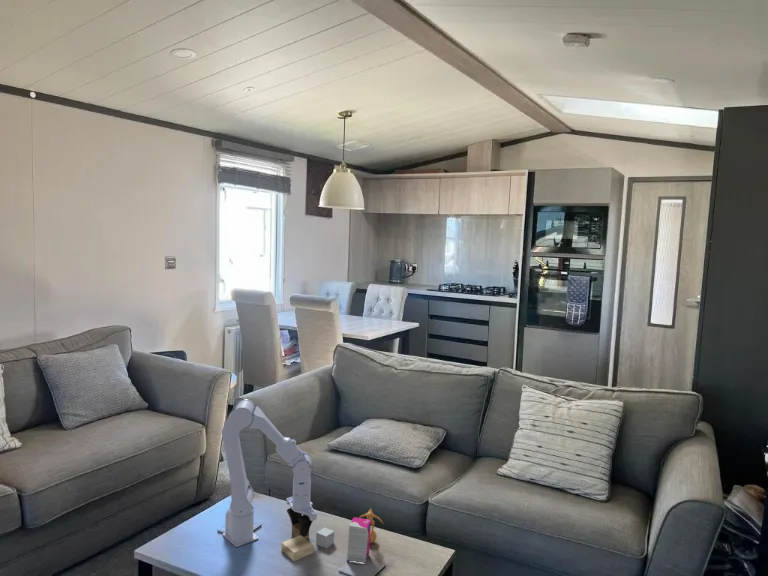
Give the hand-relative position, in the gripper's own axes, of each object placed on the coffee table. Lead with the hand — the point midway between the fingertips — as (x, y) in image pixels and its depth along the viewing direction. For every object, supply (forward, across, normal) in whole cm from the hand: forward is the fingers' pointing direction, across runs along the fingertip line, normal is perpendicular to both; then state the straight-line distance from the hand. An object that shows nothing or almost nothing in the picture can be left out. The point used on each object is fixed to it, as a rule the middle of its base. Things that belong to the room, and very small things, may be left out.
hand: (300, 532), depth 178 cm
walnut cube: (+2, 0, 0) cm, 2 cm away
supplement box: (+2, -21, -7) cm, 22 cm away
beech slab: (+2, -6, +5) cm, 9 cm away
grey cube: (+2, -8, -4) cm, 9 cm away
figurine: (+2, -17, -15) cm, 23 cm away
